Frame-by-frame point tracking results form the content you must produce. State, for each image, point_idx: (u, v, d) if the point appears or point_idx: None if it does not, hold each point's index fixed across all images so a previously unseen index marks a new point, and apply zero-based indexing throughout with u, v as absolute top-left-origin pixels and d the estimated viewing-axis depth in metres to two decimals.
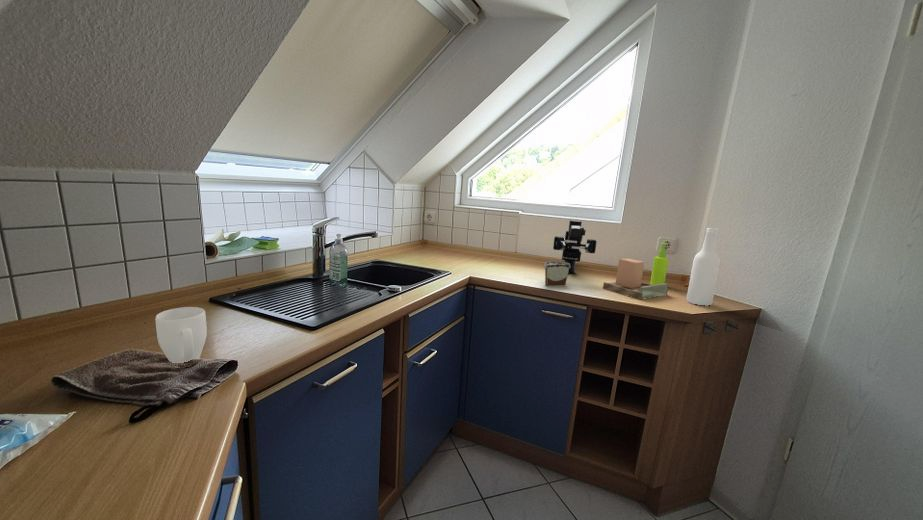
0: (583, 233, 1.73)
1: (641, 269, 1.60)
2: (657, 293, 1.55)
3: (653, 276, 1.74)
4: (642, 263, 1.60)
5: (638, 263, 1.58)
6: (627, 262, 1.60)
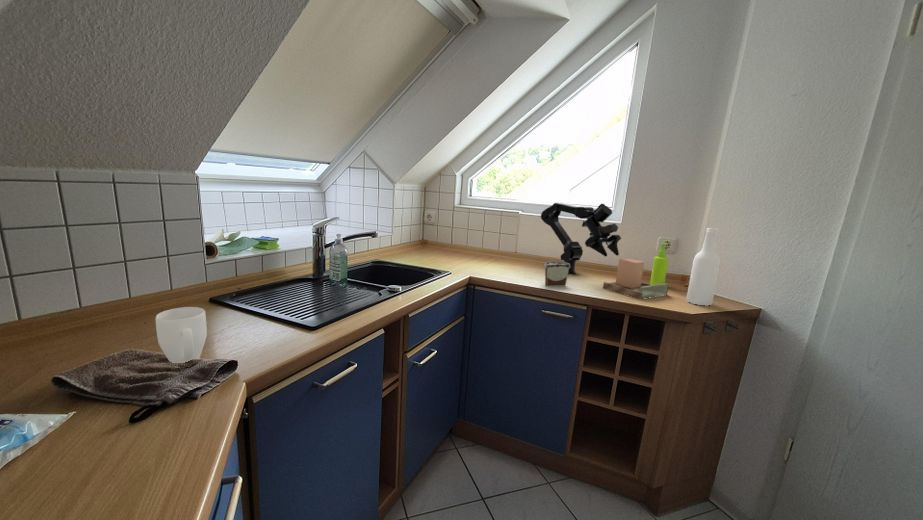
0: None
1: (641, 269, 1.60)
2: (657, 293, 1.55)
3: (653, 276, 1.74)
4: (642, 263, 1.60)
5: (638, 263, 1.58)
6: (627, 262, 1.60)
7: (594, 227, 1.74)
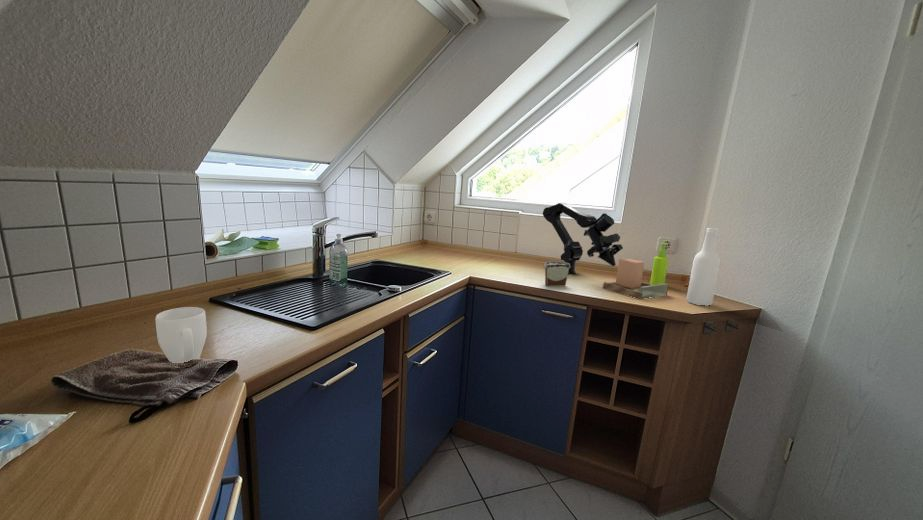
0: None
1: (641, 269, 1.60)
2: (657, 293, 1.55)
3: (653, 276, 1.74)
4: (642, 263, 1.60)
5: (638, 263, 1.58)
6: (627, 262, 1.60)
7: (596, 237, 1.74)
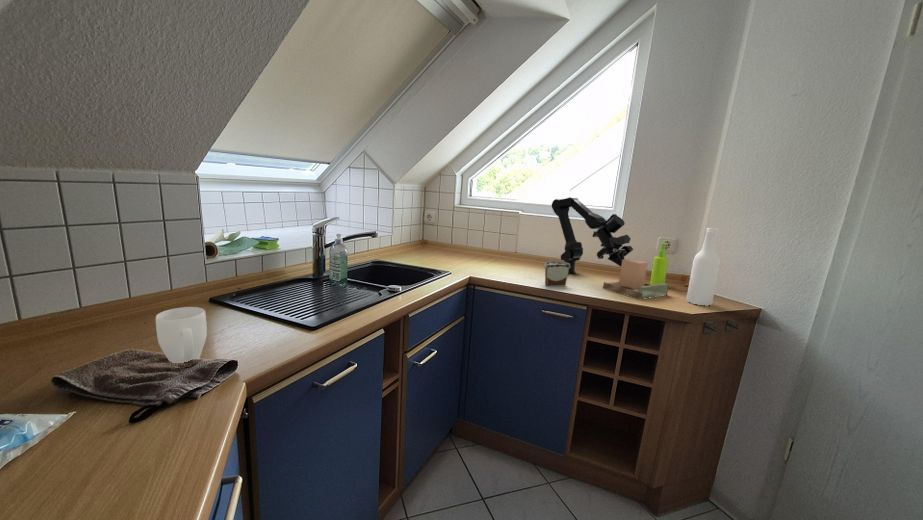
0: None
1: (644, 270, 1.59)
2: (657, 293, 1.55)
3: (653, 276, 1.74)
4: (645, 264, 1.58)
5: (641, 264, 1.57)
6: (630, 263, 1.59)
7: (606, 238, 1.70)
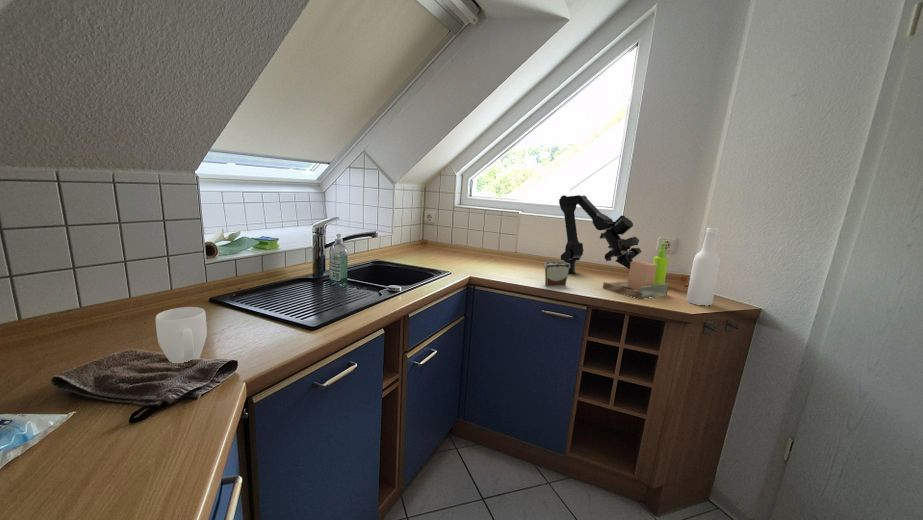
0: None
1: (654, 272, 1.55)
2: (657, 293, 1.55)
3: None
4: (655, 266, 1.55)
5: (651, 266, 1.53)
6: (639, 265, 1.56)
7: (613, 240, 1.66)
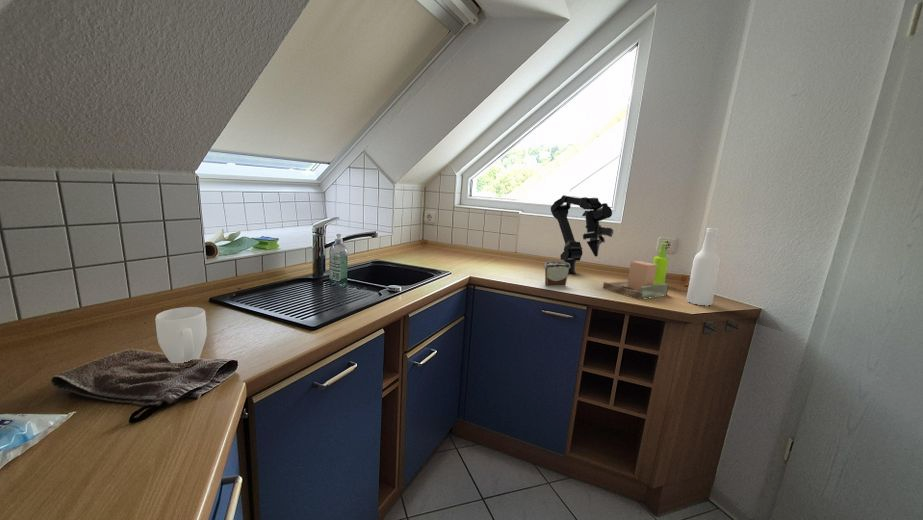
0: None
1: (654, 272, 1.55)
2: (657, 293, 1.55)
3: None
4: (655, 266, 1.55)
5: (651, 266, 1.53)
6: (639, 265, 1.56)
7: (594, 223, 1.72)
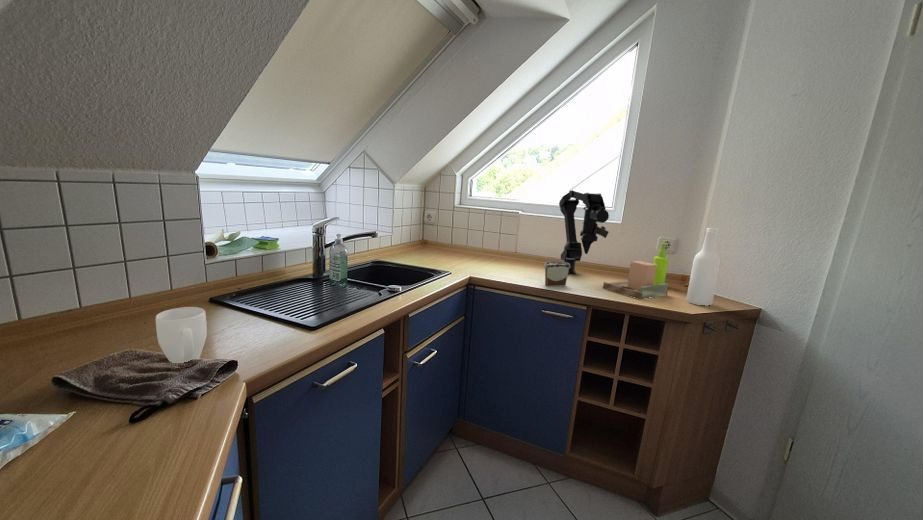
0: None
1: (654, 272, 1.55)
2: (657, 293, 1.55)
3: None
4: (655, 266, 1.55)
5: (651, 266, 1.53)
6: (639, 265, 1.56)
7: (593, 222, 1.70)
